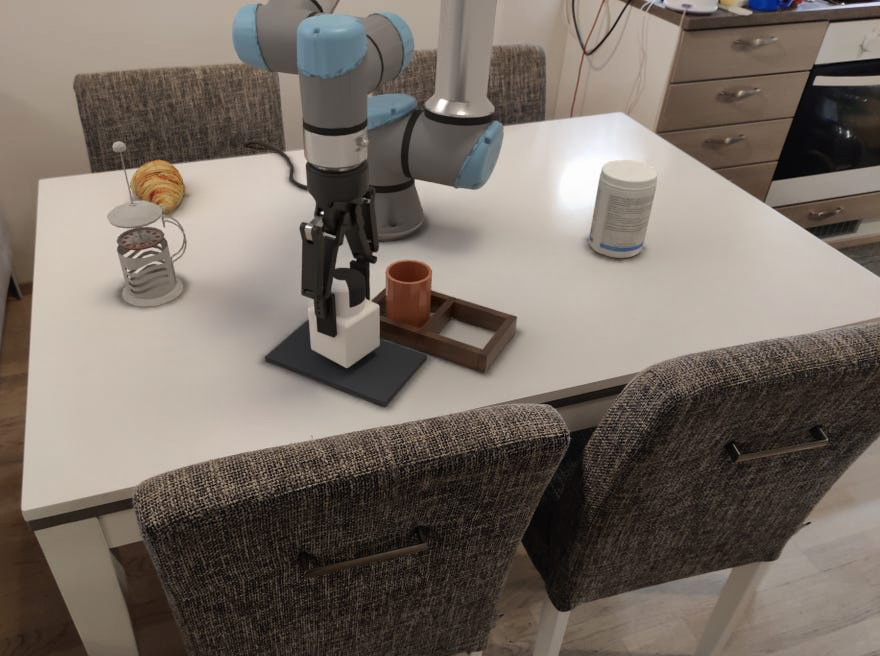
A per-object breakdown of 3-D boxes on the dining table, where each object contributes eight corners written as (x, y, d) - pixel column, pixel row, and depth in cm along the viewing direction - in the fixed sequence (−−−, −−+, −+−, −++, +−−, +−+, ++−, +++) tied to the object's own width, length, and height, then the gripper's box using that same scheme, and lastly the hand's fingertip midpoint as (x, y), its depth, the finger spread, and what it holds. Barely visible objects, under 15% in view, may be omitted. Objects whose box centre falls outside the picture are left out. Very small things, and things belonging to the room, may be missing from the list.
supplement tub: (652, 251, 131) (672, 173, 122) (615, 265, 126) (633, 186, 117) (612, 229, 137) (628, 154, 128) (576, 242, 133) (589, 166, 124)
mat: (265, 360, 104) (264, 356, 104) (313, 319, 113) (312, 315, 112) (385, 407, 97) (384, 402, 96) (426, 359, 105) (427, 354, 104)
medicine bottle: (344, 327, 107) (341, 256, 100) (380, 346, 104) (380, 273, 96) (310, 349, 103) (304, 277, 96) (347, 369, 99) (344, 295, 92)
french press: (119, 280, 121) (80, 133, 106) (190, 268, 124) (162, 124, 109) (123, 311, 114) (82, 159, 99) (198, 297, 117) (170, 148, 102)
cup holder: (358, 329, 111) (357, 312, 109) (394, 294, 118) (394, 278, 117) (485, 372, 103) (486, 356, 101) (515, 332, 110) (517, 316, 109)
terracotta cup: (377, 326, 111) (377, 275, 106) (399, 304, 116) (400, 255, 111) (416, 339, 109) (418, 288, 103) (437, 316, 114) (439, 267, 108)
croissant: (188, 230, 142) (201, 193, 139) (137, 217, 136) (149, 178, 133) (165, 186, 157) (177, 152, 154) (118, 172, 151) (129, 136, 148)
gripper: (313, 200, 78) (325, 366, 92) (406, 138, 92) (404, 290, 106) (257, 184, 80) (277, 348, 94) (356, 127, 95) (360, 276, 109)
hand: (344, 317), depth 100 cm, fingers closed on medicine bottle, 8 cm apart
